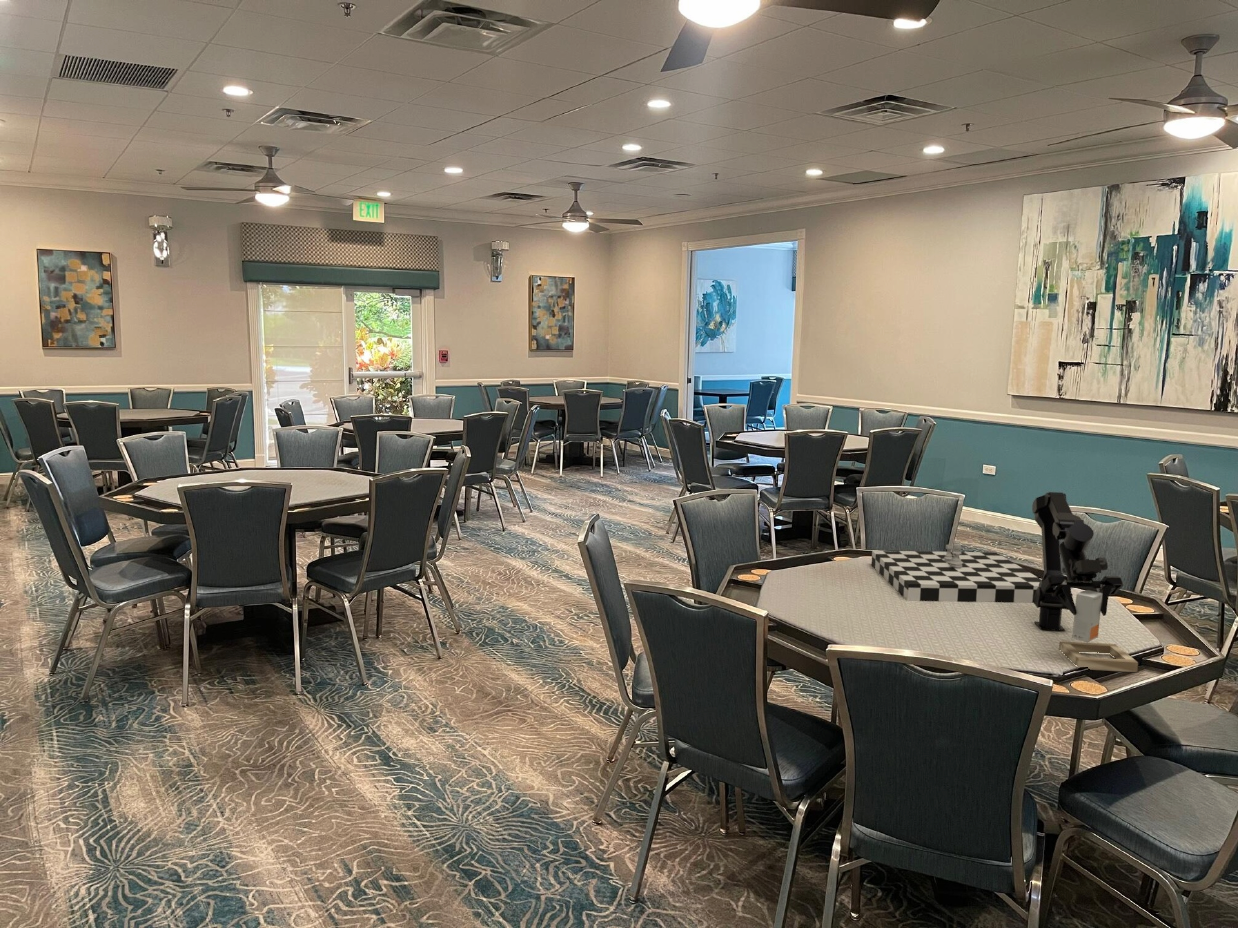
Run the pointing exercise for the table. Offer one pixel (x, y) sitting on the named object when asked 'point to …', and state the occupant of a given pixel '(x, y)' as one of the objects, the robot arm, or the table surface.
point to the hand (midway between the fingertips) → (1090, 614)
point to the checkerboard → (956, 576)
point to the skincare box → (1087, 615)
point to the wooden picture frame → (1118, 664)
